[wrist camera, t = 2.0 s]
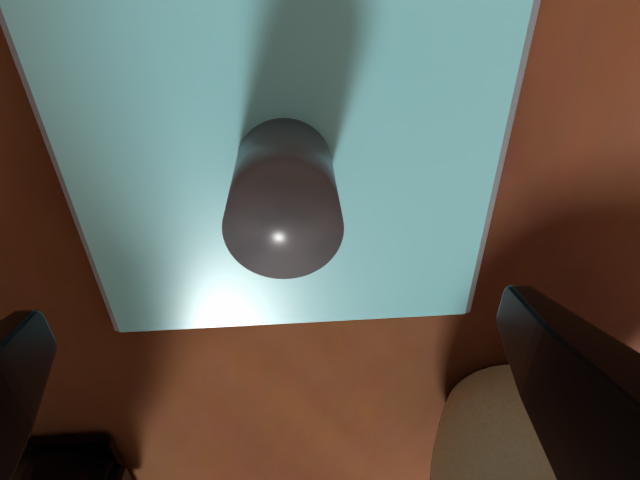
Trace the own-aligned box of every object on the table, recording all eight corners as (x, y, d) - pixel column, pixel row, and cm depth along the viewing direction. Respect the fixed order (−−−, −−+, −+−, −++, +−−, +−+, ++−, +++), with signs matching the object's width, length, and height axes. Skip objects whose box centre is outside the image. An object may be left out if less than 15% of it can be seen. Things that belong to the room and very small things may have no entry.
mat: (118, 324, 19) (115, 331, 19) (-49, -131, 11) (-59, -133, 11) (466, 306, 20) (469, 312, 19) (565, -140, 11) (572, -141, 11)
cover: (124, 321, 19) (82, 421, 15) (-27, -106, 11) (-198, -129, 7) (460, 304, 19) (502, 395, 15) (547, -116, 11) (678, -141, 8)
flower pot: (435, 315, 20) (498, 475, 14) (631, 338, 22) (761, 490, 16) (375, 445, 25) (402, 600, 20) (536, 456, 27) (606, 603, 21)
